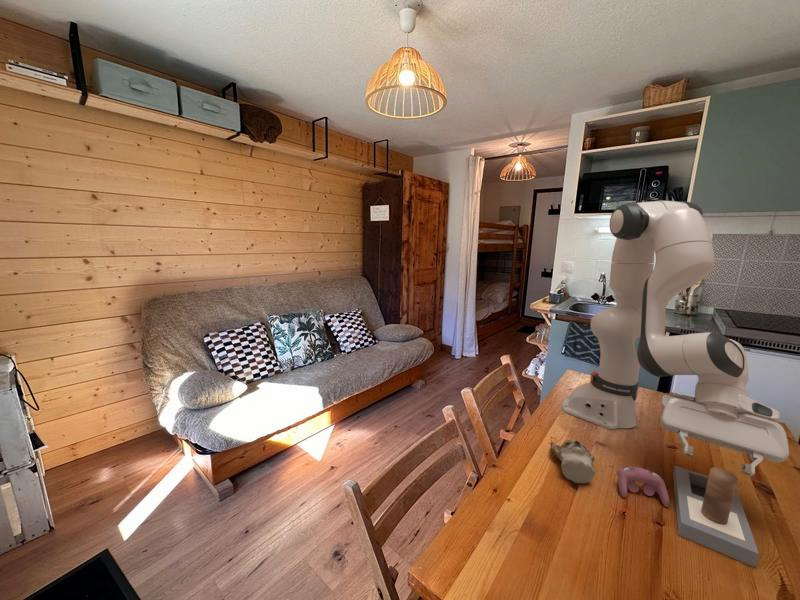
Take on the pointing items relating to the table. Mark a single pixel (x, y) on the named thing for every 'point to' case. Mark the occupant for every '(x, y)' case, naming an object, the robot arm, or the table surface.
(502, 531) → the table surface
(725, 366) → the robot arm
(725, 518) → the walnut peg
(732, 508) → the hole board
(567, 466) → the ceramic sculpture
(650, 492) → the video game controller
